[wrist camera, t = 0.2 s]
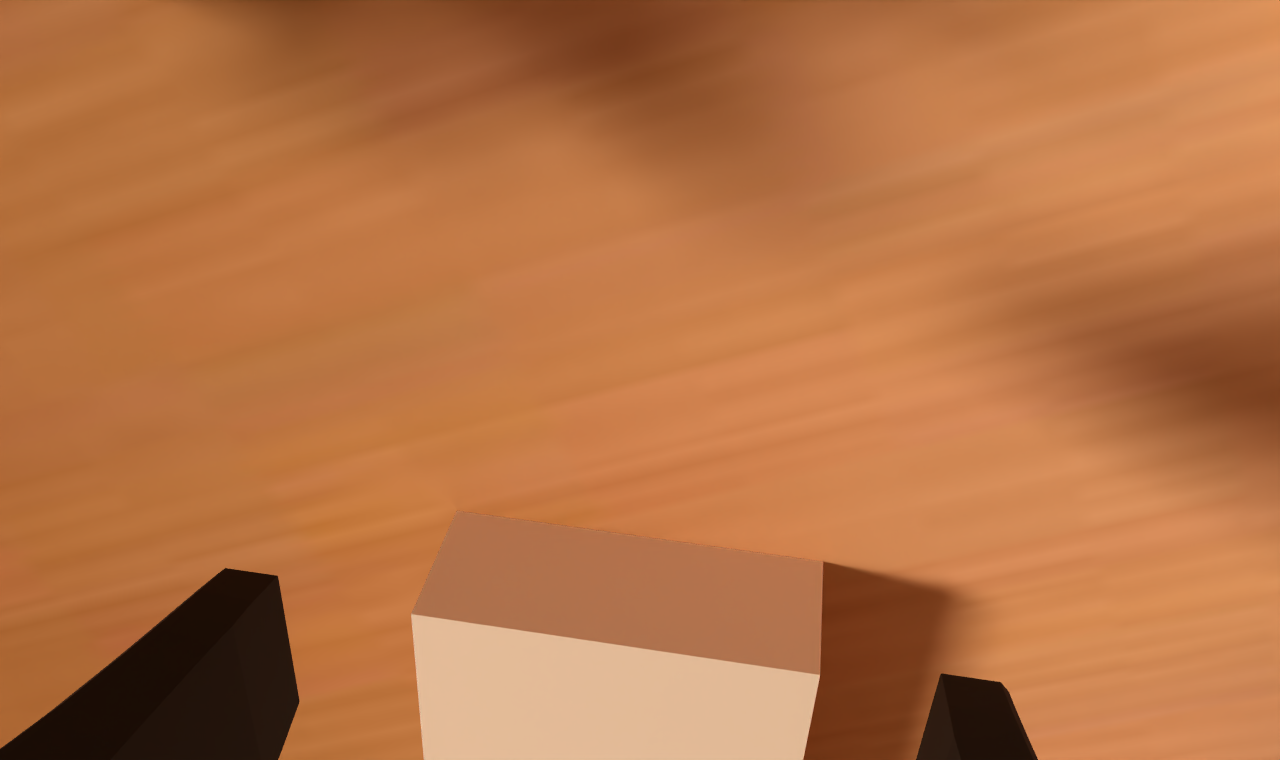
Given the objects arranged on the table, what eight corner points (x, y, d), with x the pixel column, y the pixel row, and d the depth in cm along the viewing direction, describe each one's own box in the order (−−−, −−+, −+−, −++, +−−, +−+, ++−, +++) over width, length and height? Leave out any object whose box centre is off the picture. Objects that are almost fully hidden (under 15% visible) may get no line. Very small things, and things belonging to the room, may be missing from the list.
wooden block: (779, 785, 29) (772, 914, 26) (472, 737, 30) (432, 856, 27) (823, 551, 25) (820, 675, 22) (461, 501, 25) (411, 613, 22)
